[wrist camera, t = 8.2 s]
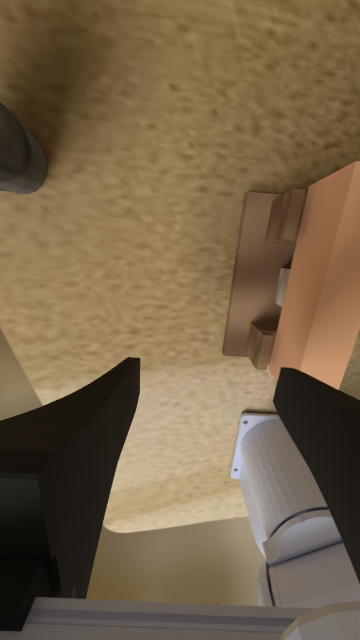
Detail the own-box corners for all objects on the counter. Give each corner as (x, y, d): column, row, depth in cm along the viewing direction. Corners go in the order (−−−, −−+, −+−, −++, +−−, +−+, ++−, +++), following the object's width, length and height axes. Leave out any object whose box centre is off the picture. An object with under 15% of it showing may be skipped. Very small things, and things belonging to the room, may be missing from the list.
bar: (302, 371, 18) (334, 402, 15) (268, 369, 18) (291, 399, 14) (352, 189, 14) (415, 165, 10) (309, 186, 14) (356, 160, 10)
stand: (319, 358, 21) (350, 380, 17) (222, 351, 21) (231, 373, 17) (365, 204, 17) (418, 189, 13) (244, 194, 17) (263, 176, 13)
